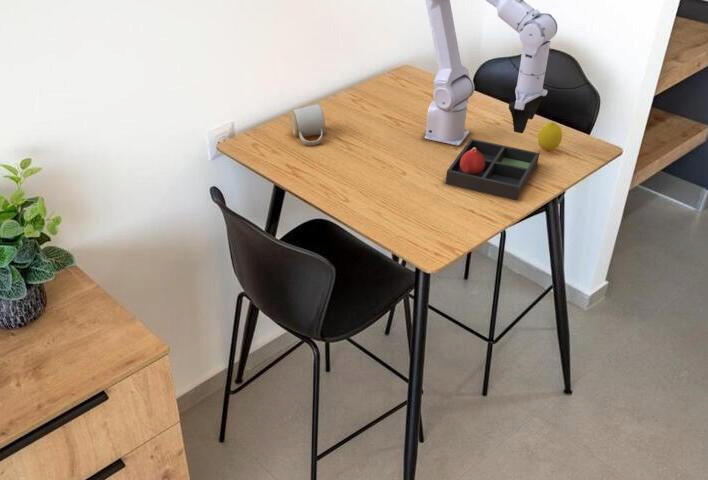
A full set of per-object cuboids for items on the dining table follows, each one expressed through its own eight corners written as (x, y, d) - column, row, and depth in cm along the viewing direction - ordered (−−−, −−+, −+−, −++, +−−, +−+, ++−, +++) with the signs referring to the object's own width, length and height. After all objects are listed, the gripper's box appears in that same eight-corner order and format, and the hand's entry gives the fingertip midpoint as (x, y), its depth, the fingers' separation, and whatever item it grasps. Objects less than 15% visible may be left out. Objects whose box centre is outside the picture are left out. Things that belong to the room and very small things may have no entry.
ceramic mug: (289, 129, 204) (287, 103, 200) (318, 125, 206) (317, 98, 201) (299, 149, 197) (298, 122, 192) (329, 144, 198) (329, 117, 193)
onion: (455, 171, 184) (458, 142, 179) (479, 169, 184) (483, 140, 179) (461, 184, 179) (465, 154, 174) (486, 182, 180) (490, 152, 175)
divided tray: (445, 183, 181) (446, 170, 179) (469, 150, 192) (470, 138, 190) (517, 200, 174) (519, 187, 172) (537, 165, 186) (539, 153, 184)
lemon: (559, 157, 188) (565, 128, 183) (536, 156, 189) (541, 127, 184) (558, 146, 192) (563, 117, 187) (535, 145, 193) (540, 116, 188)
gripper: (541, 86, 166) (531, 142, 175) (558, 61, 176) (548, 115, 184) (509, 80, 169) (501, 135, 177) (528, 56, 179) (519, 109, 187)
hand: (523, 125), depth 181 cm, fingers open, 7 cm apart
